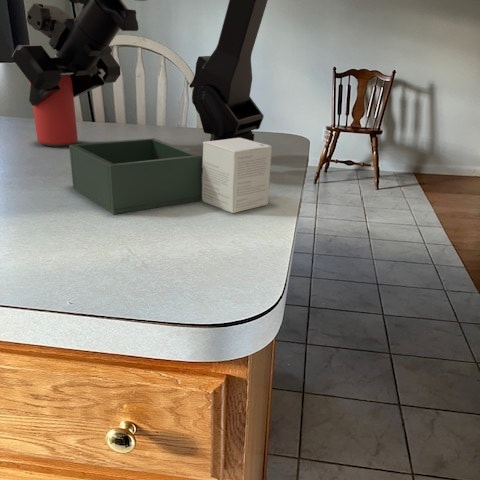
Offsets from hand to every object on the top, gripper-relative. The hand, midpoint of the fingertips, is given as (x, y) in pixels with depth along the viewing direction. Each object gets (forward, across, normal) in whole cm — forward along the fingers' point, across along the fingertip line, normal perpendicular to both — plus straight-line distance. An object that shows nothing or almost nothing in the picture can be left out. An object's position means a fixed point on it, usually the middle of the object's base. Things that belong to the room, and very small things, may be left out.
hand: (47, 101), depth 90 cm
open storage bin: (-16, +17, +26) cm, 35 cm away
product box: (-24, +12, +35) cm, 44 cm away
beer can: (+4, 0, +6) cm, 7 cm away
